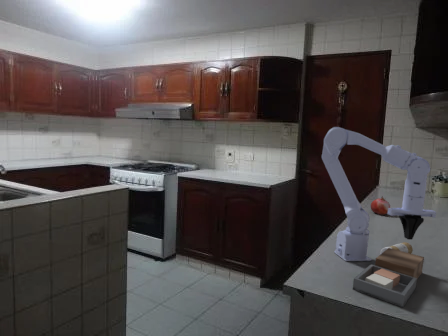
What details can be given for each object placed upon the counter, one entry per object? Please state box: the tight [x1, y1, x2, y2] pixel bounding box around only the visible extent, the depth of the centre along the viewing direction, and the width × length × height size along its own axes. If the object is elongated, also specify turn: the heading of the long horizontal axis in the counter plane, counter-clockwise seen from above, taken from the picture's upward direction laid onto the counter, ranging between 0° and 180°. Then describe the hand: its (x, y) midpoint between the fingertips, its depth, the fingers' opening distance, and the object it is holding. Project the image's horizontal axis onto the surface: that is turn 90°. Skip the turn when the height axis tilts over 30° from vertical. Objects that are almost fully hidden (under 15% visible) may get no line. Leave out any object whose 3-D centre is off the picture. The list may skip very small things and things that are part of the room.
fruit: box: [370, 195, 391, 216], centre depth 177 cm, size 9×10×10 cm
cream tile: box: [365, 273, 393, 290], centre depth 87 cm, size 5×5×2 cm
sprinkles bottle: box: [379, 241, 414, 255], centre depth 112 cm, size 5×5×13 cm
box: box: [352, 264, 418, 308], centre depth 88 cm, size 14×12×3 cm
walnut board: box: [374, 248, 425, 280], centre depth 99 cm, size 14×10×5 cm
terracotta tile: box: [374, 269, 400, 288], centre depth 91 cm, size 5×5×2 cm
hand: (408, 238), depth 104 cm, fingers closed
